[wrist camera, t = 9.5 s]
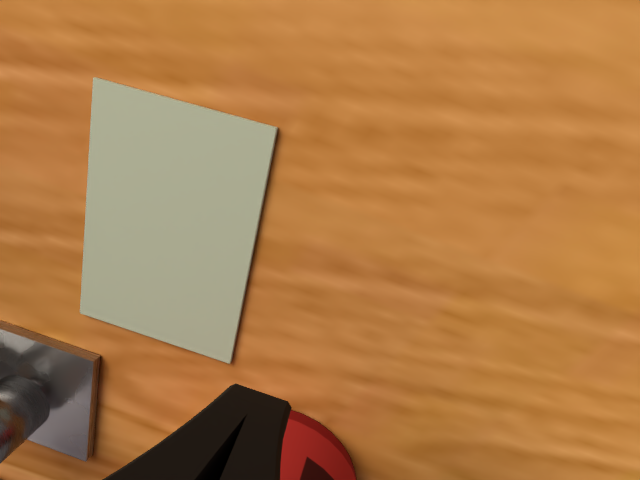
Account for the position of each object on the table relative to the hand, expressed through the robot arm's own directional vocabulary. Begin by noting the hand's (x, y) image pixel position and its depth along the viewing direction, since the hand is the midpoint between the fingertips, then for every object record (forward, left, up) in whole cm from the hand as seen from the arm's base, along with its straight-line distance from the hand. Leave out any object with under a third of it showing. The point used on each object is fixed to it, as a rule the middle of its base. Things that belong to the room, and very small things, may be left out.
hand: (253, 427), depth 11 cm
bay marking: (0, +7, -8) cm, 11 cm away
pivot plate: (-10, +12, -8) cm, 18 cm away
